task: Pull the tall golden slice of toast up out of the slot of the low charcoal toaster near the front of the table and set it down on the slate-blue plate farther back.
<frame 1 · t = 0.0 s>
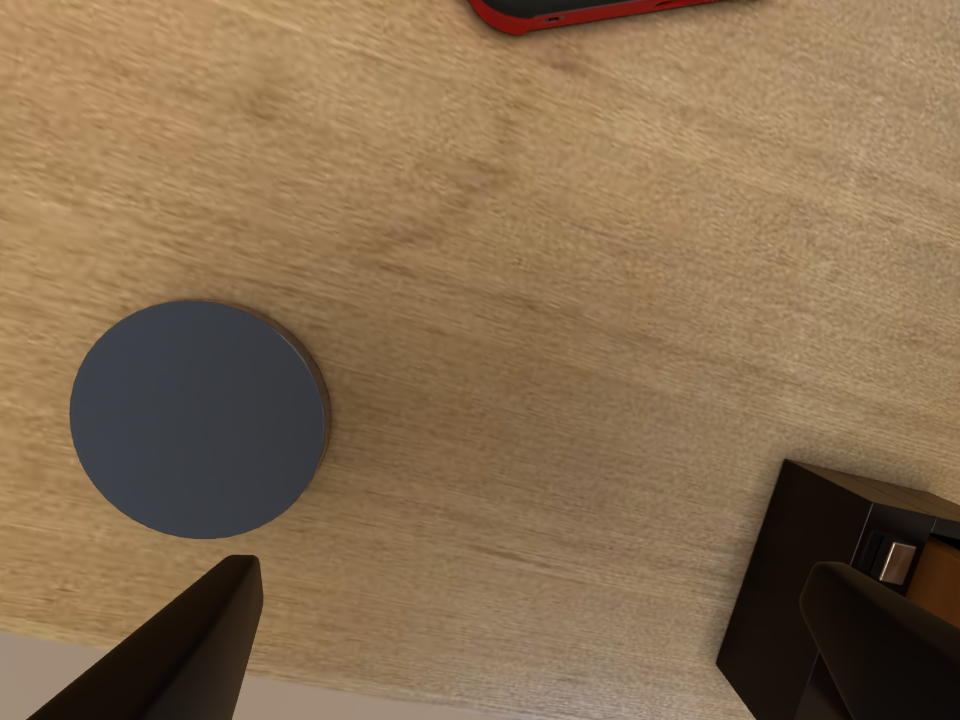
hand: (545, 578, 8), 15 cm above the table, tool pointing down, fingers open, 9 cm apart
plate: (212, 416, 22), on the table
toaster: (822, 579, 25), on the table
toast: (854, 603, 23), point 2 cm above the table, touching toaster
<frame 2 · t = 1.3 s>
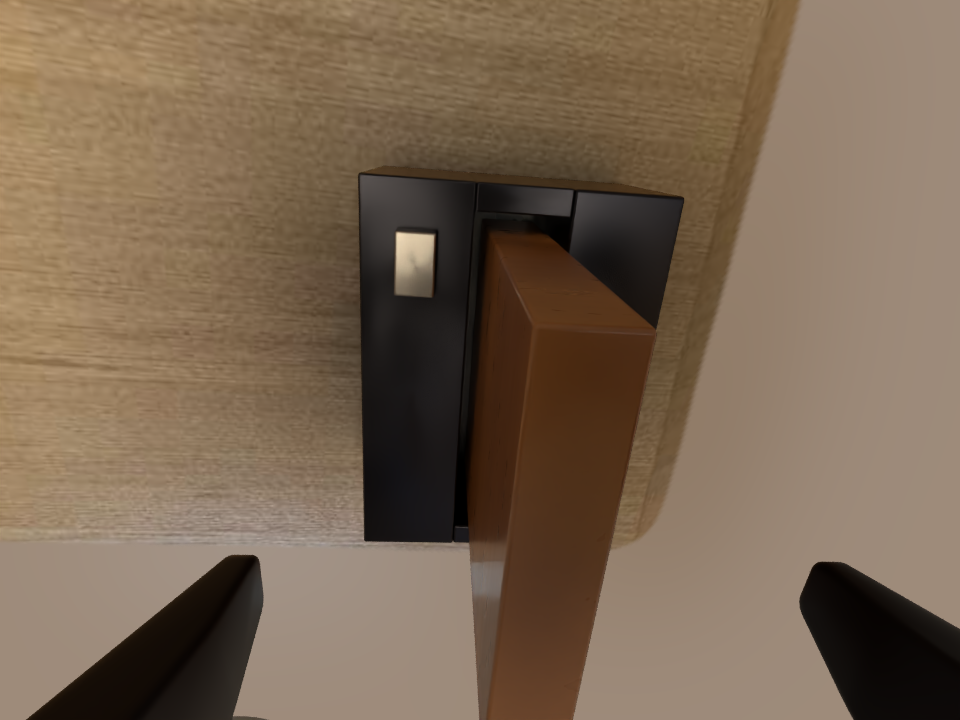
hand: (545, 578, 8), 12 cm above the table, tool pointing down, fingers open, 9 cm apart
toaster: (491, 331, 19), on the table
toast: (496, 351, 17), point 2 cm above the table, touching toaster
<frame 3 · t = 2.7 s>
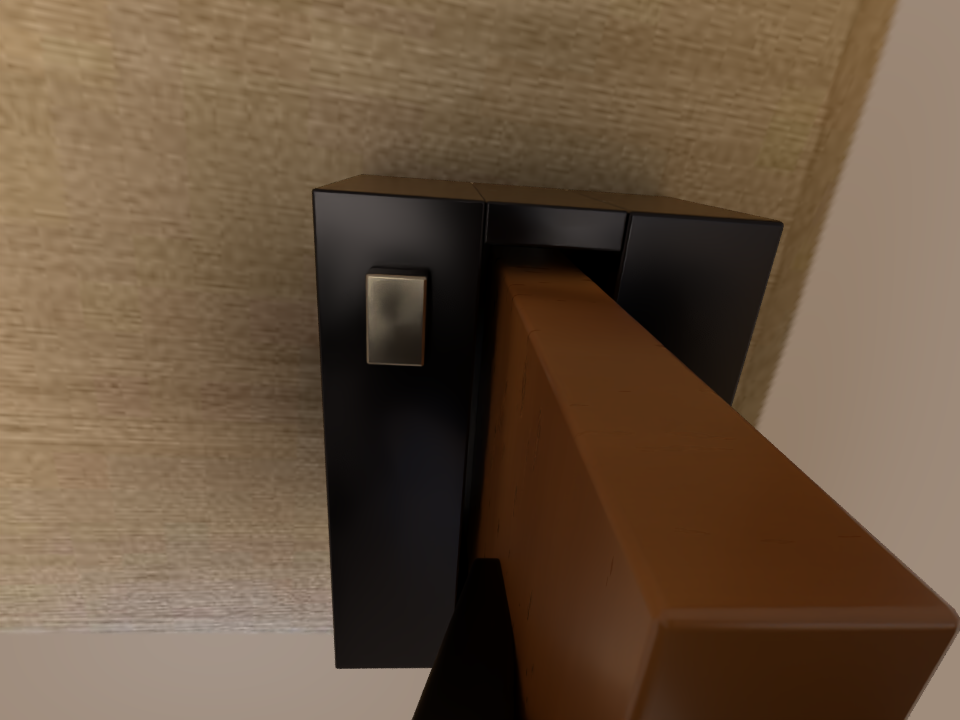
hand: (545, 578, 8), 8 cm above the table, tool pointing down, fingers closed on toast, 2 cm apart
toaster: (500, 380, 15), on the table
toast: (507, 413, 13), point 2 cm above the table, touching gripper, toaster
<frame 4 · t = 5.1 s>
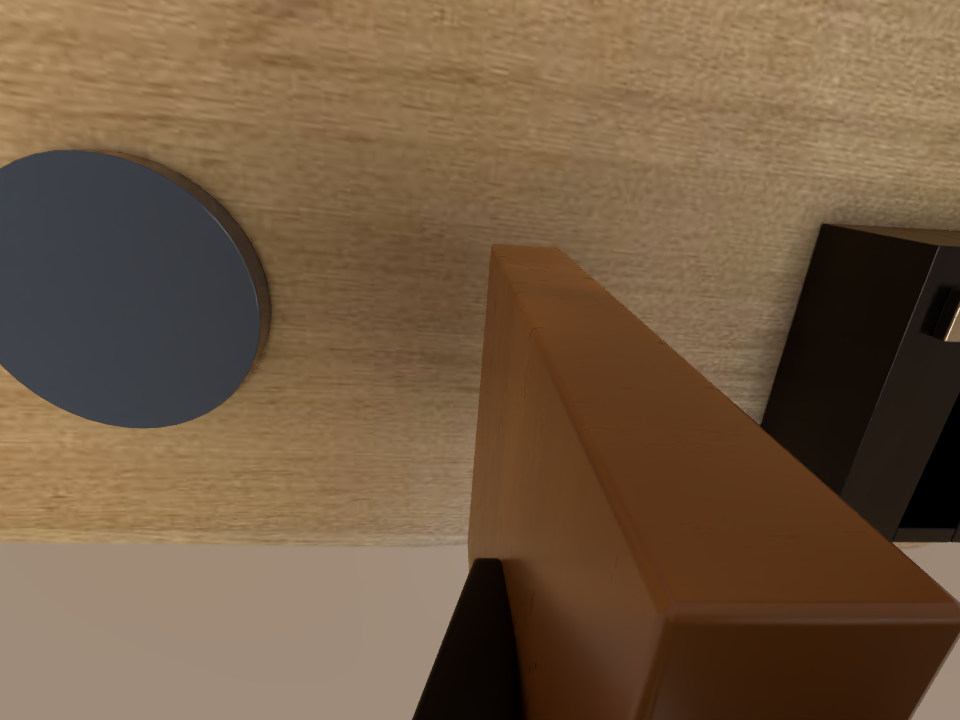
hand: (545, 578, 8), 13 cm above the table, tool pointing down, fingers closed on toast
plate: (131, 295, 19), on the table
toaster: (870, 359, 22), on the table
toast: (508, 412, 13), point 8 cm above the table, touching gripper
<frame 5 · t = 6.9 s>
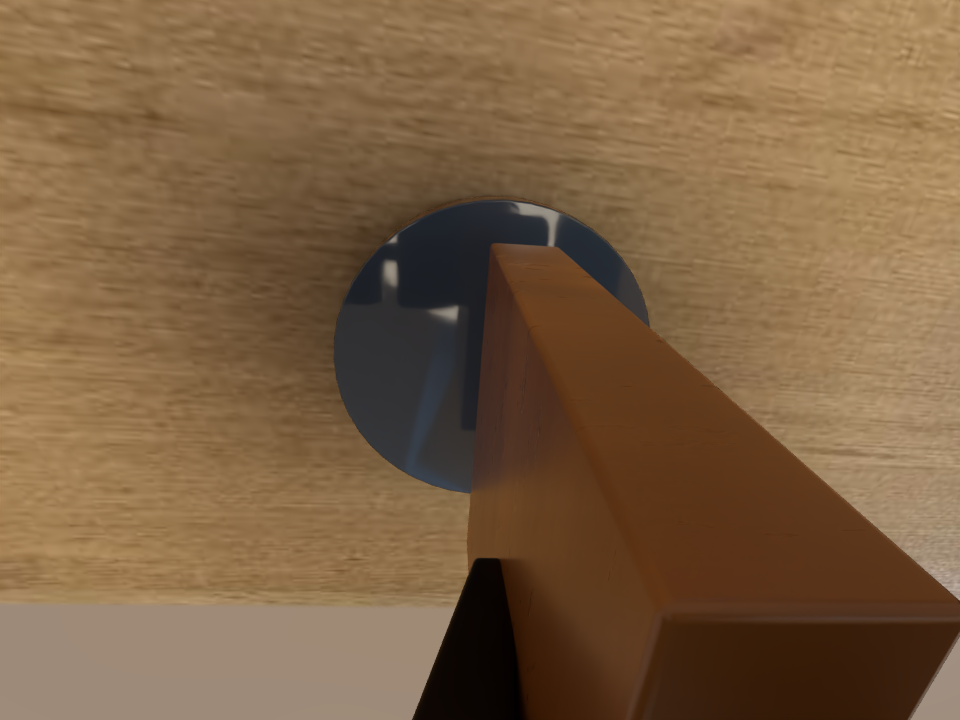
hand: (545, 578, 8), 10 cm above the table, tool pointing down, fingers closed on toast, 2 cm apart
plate: (491, 350, 17), on the table
toast: (507, 411, 13), point 4 cm above the table, touching gripper
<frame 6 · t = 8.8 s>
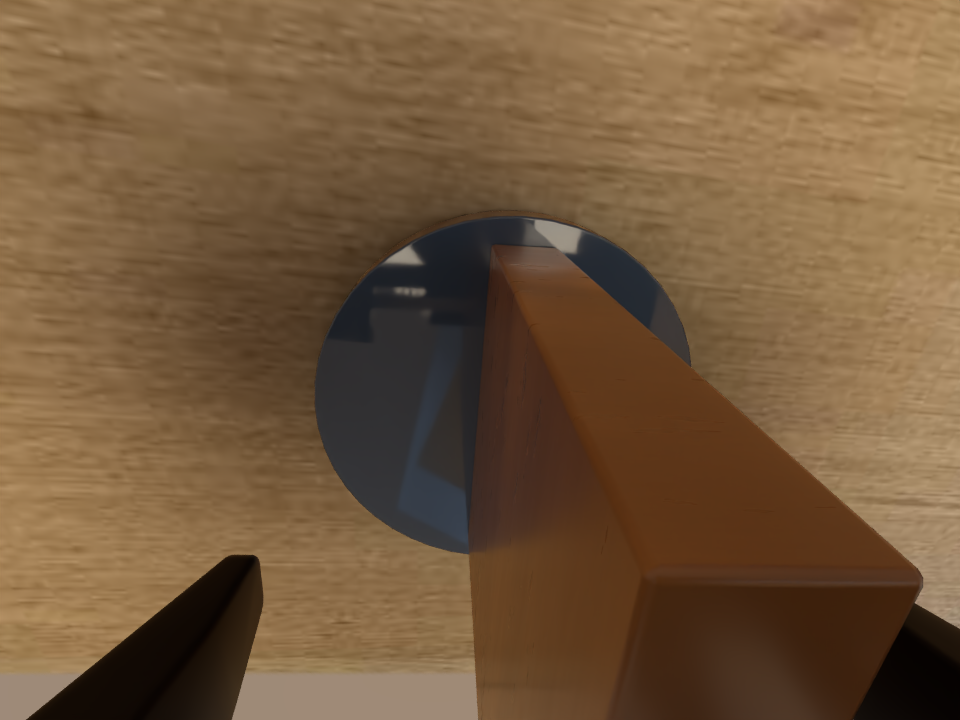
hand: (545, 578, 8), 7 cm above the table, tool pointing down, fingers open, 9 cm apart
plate: (502, 390, 15), on the table
toast: (508, 409, 14), point 1 cm above the table, touching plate
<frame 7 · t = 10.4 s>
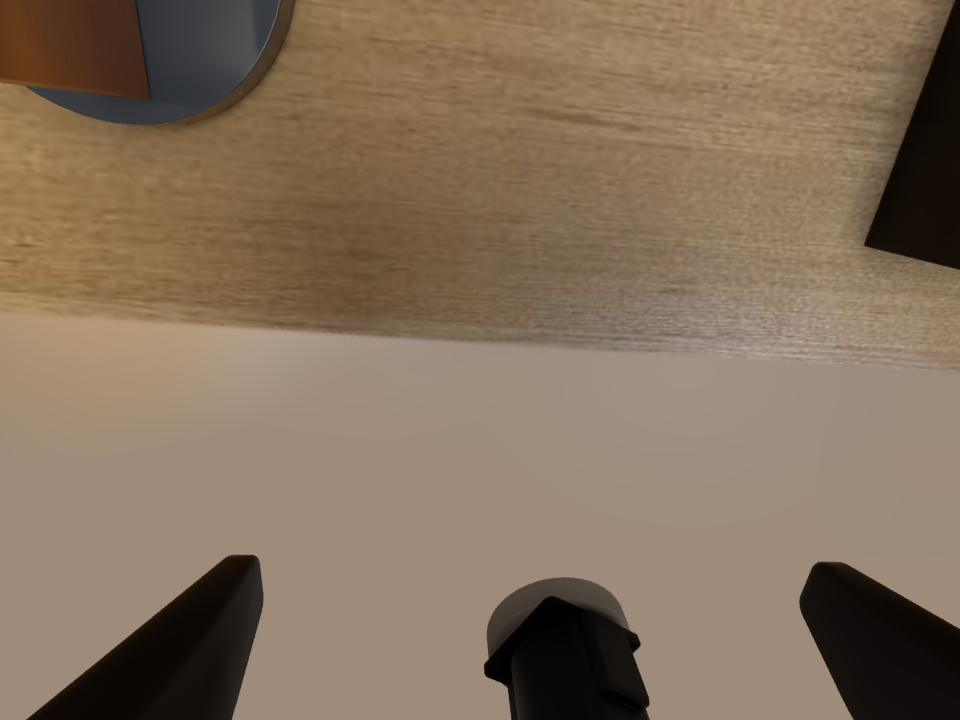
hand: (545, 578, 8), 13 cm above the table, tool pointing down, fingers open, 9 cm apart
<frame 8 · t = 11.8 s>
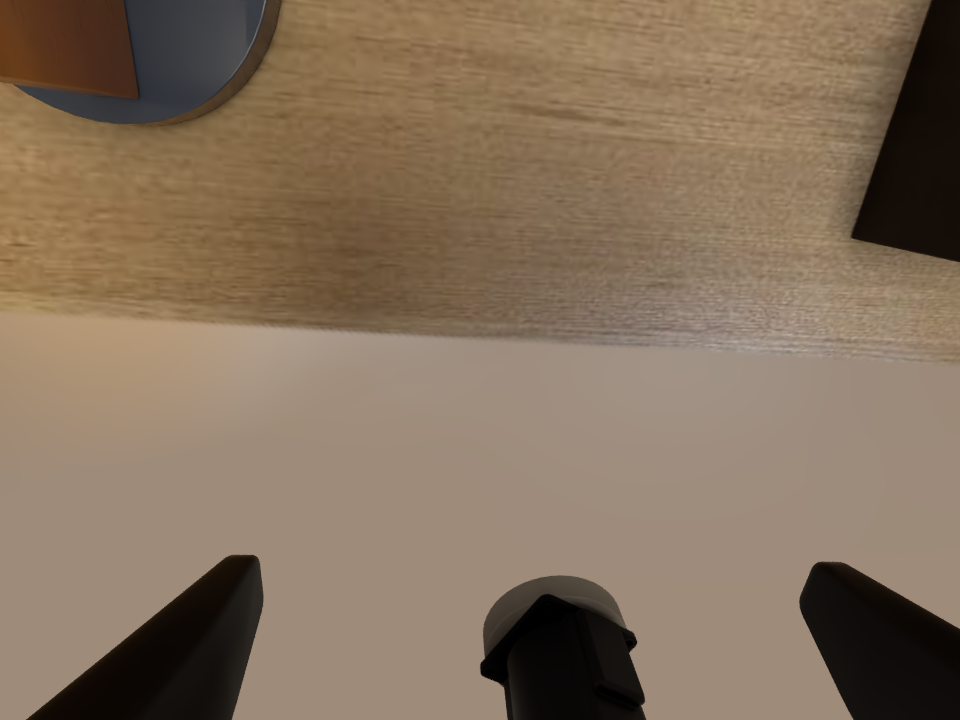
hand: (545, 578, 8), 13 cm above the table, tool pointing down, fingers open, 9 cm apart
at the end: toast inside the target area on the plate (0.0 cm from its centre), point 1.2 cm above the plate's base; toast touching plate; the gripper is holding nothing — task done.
